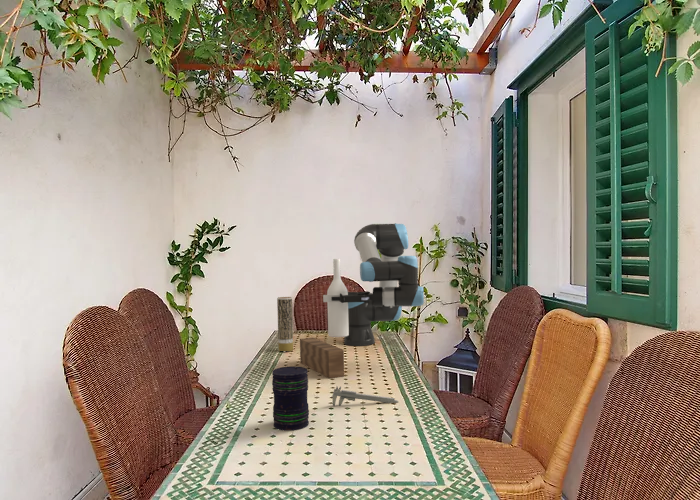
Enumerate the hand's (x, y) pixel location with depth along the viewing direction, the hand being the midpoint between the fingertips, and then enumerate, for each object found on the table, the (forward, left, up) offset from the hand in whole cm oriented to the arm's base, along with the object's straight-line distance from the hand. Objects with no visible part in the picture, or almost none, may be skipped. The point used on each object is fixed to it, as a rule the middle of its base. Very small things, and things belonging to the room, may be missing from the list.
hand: (325, 297), depth 205 cm
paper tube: (-35, -27, -29) cm, 53 cm away
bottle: (0, +5, -15) cm, 16 cm away
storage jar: (+62, +2, -29) cm, 68 cm away
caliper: (+42, +20, -29) cm, 55 cm away
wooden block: (-1, -3, -29) cm, 29 cm away
